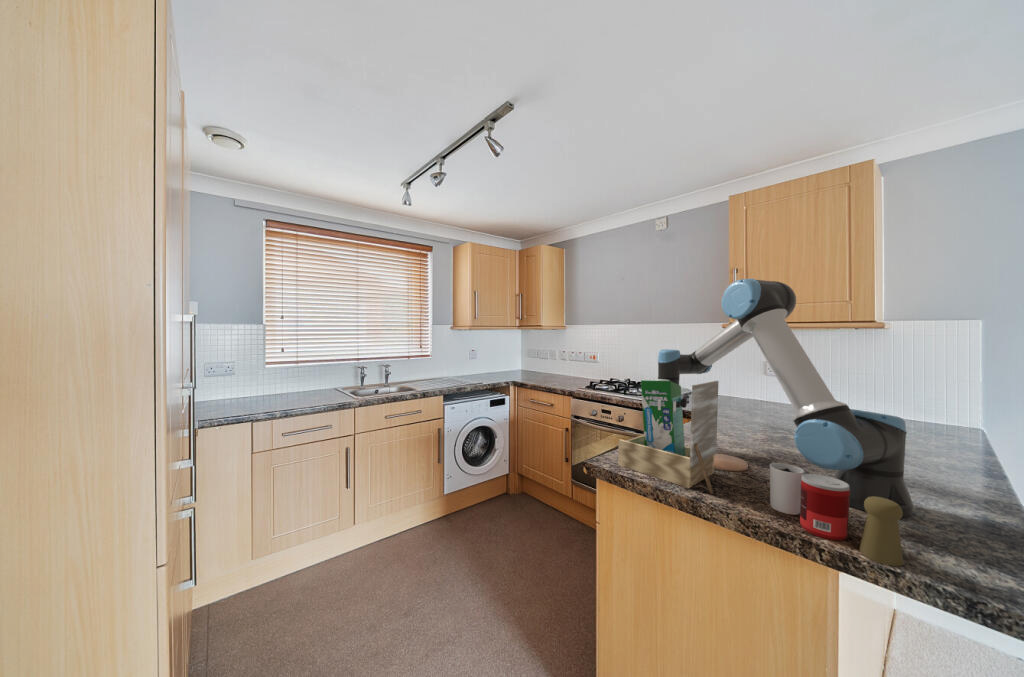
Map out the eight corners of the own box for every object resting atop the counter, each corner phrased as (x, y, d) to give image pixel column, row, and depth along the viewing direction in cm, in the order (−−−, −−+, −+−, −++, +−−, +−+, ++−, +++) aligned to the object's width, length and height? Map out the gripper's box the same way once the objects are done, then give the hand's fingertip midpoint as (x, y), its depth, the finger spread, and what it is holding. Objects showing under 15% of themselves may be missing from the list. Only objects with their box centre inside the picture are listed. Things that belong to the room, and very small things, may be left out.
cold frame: (734, 479, 107) (737, 382, 106) (711, 496, 96) (715, 388, 95) (645, 454, 128) (647, 373, 127) (618, 465, 116) (620, 376, 116)
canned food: (858, 542, 75) (860, 488, 75) (818, 540, 76) (820, 487, 75) (827, 522, 83) (828, 474, 83) (791, 521, 83) (792, 473, 83)
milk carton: (685, 458, 115) (680, 378, 116) (675, 465, 108) (670, 380, 109) (656, 454, 121) (652, 377, 122) (645, 460, 114) (640, 380, 116)
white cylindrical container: (763, 500, 93) (764, 461, 93) (793, 503, 92) (794, 464, 92) (776, 513, 87) (778, 471, 86) (808, 517, 85) (810, 474, 85)
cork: (852, 551, 72) (854, 495, 72) (869, 544, 75) (871, 490, 74) (894, 569, 67) (896, 509, 66) (910, 561, 69) (912, 503, 69)
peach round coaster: (753, 464, 119) (753, 461, 119) (739, 474, 110) (739, 470, 110) (710, 454, 129) (710, 450, 129) (694, 462, 120) (694, 458, 120)
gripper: (693, 407, 128) (697, 421, 106) (643, 403, 134) (637, 415, 113) (694, 385, 127) (698, 395, 106) (643, 382, 134) (637, 391, 113)
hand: (666, 406), depth 109 cm, fingers open, 3 cm apart
